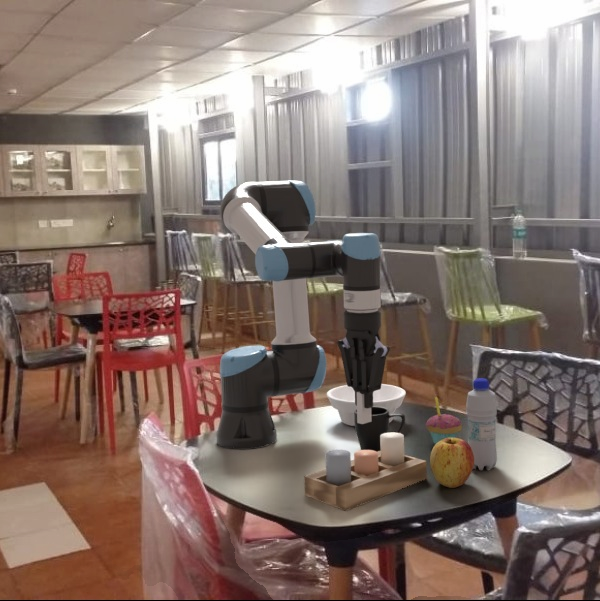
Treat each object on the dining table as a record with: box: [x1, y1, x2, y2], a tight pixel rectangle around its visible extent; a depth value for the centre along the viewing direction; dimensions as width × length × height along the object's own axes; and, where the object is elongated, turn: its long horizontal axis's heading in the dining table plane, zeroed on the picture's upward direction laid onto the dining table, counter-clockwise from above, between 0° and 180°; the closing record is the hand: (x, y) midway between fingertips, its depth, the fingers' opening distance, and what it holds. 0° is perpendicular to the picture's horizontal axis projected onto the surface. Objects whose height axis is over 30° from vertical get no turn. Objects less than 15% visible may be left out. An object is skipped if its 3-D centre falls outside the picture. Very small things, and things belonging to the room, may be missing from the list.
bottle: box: [465, 377, 498, 471], centre depth 180 cm, size 7×7×20 cm
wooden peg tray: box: [303, 451, 428, 511], centre depth 171 cm, size 12×24×4 cm, turn 131°
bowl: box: [326, 383, 407, 427], centre depth 219 cm, size 21×21×8 cm
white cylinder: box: [380, 431, 405, 466], centre depth 176 cm, size 5×5×6 cm
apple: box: [429, 437, 474, 489], centre depth 171 cm, size 9×9×10 cm
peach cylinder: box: [353, 449, 379, 476], centre depth 171 cm, size 5×5×6 cm
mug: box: [354, 406, 406, 452], centre depth 195 cm, size 8×12×10 cm
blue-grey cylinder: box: [325, 449, 352, 486], centre depth 166 cm, size 5×5×6 cm
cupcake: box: [425, 394, 463, 445], centre depth 198 cm, size 9×8×12 cm
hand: (364, 422), depth 170 cm, fingers closed
